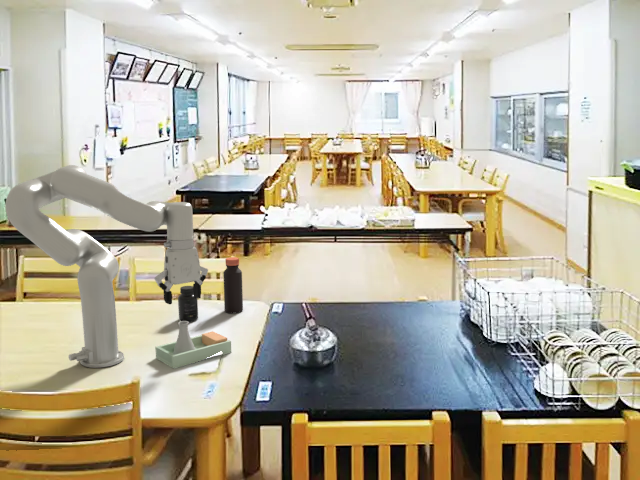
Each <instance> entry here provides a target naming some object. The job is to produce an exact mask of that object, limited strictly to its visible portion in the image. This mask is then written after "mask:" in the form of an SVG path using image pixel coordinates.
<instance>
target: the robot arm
mask: <svg viewBox="0 0 640 480" xmlns="http://www.w3.org/2000/svg"><path fill="white" fill-rule="evenodd" d="M62 199H67V200H70V201H73V202H76V203H79V204H81V205H84V206H87V207H90V208H92V209H94V210H97V211H100V212H101V213H103V214H104V215H106V216H108V217H110V218H112V219H114V220H116V221H117V222H120V223H122V224H124V225H126V226H130V227H132V228H135V229H138V230H140V231H142V232H143V231H144V232H154V231H156V230H158V229H160V228H161V227H162V226H166V232H167V233H166V237H167V239H166V241H165V242H164V243H163V247H164V248H167V249H166V250H165V254H164V262H163V265H164V266H163V270H162V271H161V272H160V273H159V274H158V275H156V276H155V277H154V281H155V283H156V284H157V286H158V287H159V288H160V289H161V290H163V301H164V302H165V304H168V305H172V304H173V297H172V296H173V294H172V291H171V289H172V288H173V286H174V285H175V286H176V285H181V284H182V285H183V284H186V283H187V284H188V283H193V285H192V286H193V296H194V297H196V298H197V299H201V296H202V286H203V284H204V283H203V282H204V281H205V280H206V276H207V274H208V272H209V269H208V268H206V267H204V266H201V263H200V257H199V253H198V249H197V247H195V246H194V245H195V244H194V224H193V223H194V218H193V217H194V215H193V206H192V204H191V203H190V202H186V201H176V202H175V201H174V202H166V201H159V200H155V201H154V200H153V201H152V200H151V201H149V202H147V203H144V202H141V201H139V200H136V199H134V198H132V197H129V196H128V195H125V194H124V193H122V192H121V191H120V190H119V189H118V188H117V187H116V186H115V185H114V184H112V183H110V182H108V181H105V180H104V179H100V178H98V177H95V176H92V175H90V174H87V172H86V170H84V169H83V168H82V167H81V166H79V165H74V164H69V165H66V166H62V167H60V168H57V169H56V170H55V171H54V170H53V171H52V172H49V173H47V174H44V175H41V176H37V177H35V178H32V179H29V180H26V181H23V182H20V183H18V184H16V185H15V186H13V187H12V188H11V189H10V191H9V192H8V194H7V197H6V199H5V212H6V216H7V218H8V220H9V222H10V224H11V225H12V227H14V228H15V230H17V232H19V233H20V234H22V235H23V236H24V237H25V238H26V239H28V240H29V241H31V242H32V243H33V244H34V245H35V246H37V247H38V248H39V249H40V250H41V251H43V252H44V253H45V254H46V255H47V256H49V257H50V258H51V259H53V260H54V261H55V263H57V264H59V265H60V266H65V267H71V266H74V265H76V266H78V267H79V270H78V273H77V285H78V291H79V296H80V303H81V304H80V305H81V306H80V307H81V314H82V328H83V340H84V346H82V347H81V350H79V351H78V352H75V353H69V354H68V359H69V361H70V362H72V361H75V360H76V362H79V363H80V364H81V365H82V366H83V367H86V368H91V369H92V368H95V369H97V368H101V369H102V368H107V367H111V366H115V365H117V364H120V363H122V362H123V361H124V360H125V354H124V352H122V351H120V350H119V343H118V342H119V341H118V340H119V338H118V324H117V311H116V299H115V292H114V285H113V280H114V279H115V278H116V276H118V273H119V269H120V265H119V264H120V263H119V261H118V259H117V258H116V256H115V255H114V254H113V253H111V252H110V251H109V250H108V249H107V248H106V247H105V246H104V245H102V244H101V243H100V242H99V241H97V240H96V239H94V238H93V237H92V236H91V235H90V234H88V233H87V232H85V231H83V230H81V229H79V228H78V229H76V228H70V229H65V228H64V227H62V226H61V225H59V224H58V223H57V222H56V221H55V220H54V219H53V218H51V217H49V216H48V215H46V214H44V213H43V212H42V211H41V208H43V207H45V206H47V205H49V204H53V203H55V202H58V201H60V200H62ZM162 280H164V282H163V281H162Z"/></svg>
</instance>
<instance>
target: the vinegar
mask: <svg viewBox="0 0 640 480" xmlns="http://www.w3.org/2000/svg"><path fill="white" fill-rule="evenodd" d="M239 266H240V258H239V257H236V256H234V257H232V256H230V257H226V258H225V267H226V268H225V270H223V298H224V299H223V300H224V303H223V304H224V311H225V312H226V313H227V314H238V313H241V312H243V310H244V304H243V303H244V302H243V301H244V300H243V299H244V298H243V272H242V270H241V268H240V267H239Z"/></svg>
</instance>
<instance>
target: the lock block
mask: <svg viewBox="0 0 640 480" xmlns="http://www.w3.org/2000/svg"><path fill="white" fill-rule="evenodd" d="M201 335H202V343H203V344H205V345H207V346H210V345H213V344H217V343H221V342H225V341H228V337H226V336H224V335H222V334H219V333H218V332H215V331H213V330H212V331H209V332H204V333H202V334H201Z"/></svg>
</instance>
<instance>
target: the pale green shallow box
mask: <svg viewBox="0 0 640 480" xmlns="http://www.w3.org/2000/svg"><path fill="white" fill-rule="evenodd" d="M191 340H192V342H193V345H194V347H195V350H191V351H187V352H183V353H180V354H176V355H174V354H173V351H174V348H175V345H176V342H177V340H175V341H173V342H169V343H165V344H161V345H157V346H155V359H156V360H159V361H160V362H161V363H164V365H167V366H169V367H170V368H173V369H177V368H181V367H184V366H188V365H192V364H194V363H195V362H196V363H199V362H202V361H201V360H203V359H206V358H207V357H210V356H212V355H214V354H216V353H218V352H220V351H222V352H223V355H227V354H230V353H232V341H231V340H228V339H227V341H225V342H221V343H217V344H213V345H210V346H207V345H205V344H203V343H202V334H201V335H196V336H193V337H191ZM223 355H222V356H223ZM206 360H207V359H206ZM198 361H199V362H198ZM203 361H204V360H203ZM191 363H192V364H191Z"/></svg>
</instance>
